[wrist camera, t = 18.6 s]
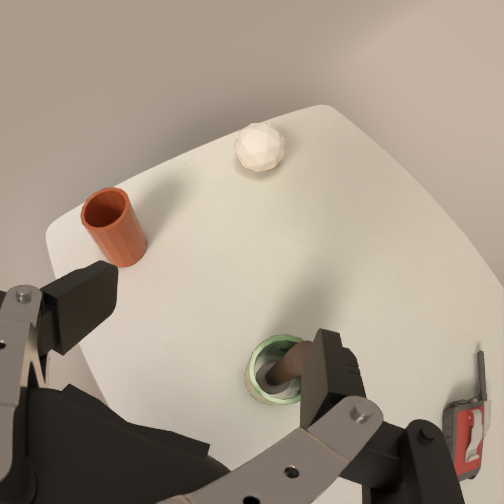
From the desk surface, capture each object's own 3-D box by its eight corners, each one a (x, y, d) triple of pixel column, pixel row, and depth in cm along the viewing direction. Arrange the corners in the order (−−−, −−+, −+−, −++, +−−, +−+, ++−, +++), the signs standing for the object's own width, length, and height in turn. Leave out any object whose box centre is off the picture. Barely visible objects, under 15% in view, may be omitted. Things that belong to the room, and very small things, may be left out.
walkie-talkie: (477, 473, 24) (479, 352, 34) (496, 474, 20) (497, 344, 30) (435, 490, 24) (439, 357, 34) (454, 494, 20) (458, 349, 30)
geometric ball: (257, 184, 49) (246, 177, 41) (233, 146, 49) (219, 133, 42) (296, 160, 47) (292, 148, 40) (271, 122, 48) (262, 105, 40)
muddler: (259, 397, 30) (282, 391, 16) (253, 365, 32) (270, 332, 18) (292, 390, 31) (341, 377, 17) (285, 358, 33) (327, 321, 19)
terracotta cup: (112, 274, 37) (85, 239, 29) (101, 239, 39) (77, 201, 31) (152, 255, 39) (135, 216, 31) (139, 221, 41) (122, 180, 33)
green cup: (261, 413, 30) (272, 417, 22) (234, 368, 32) (235, 356, 25) (308, 386, 32) (332, 379, 24) (281, 342, 34) (296, 322, 26)
